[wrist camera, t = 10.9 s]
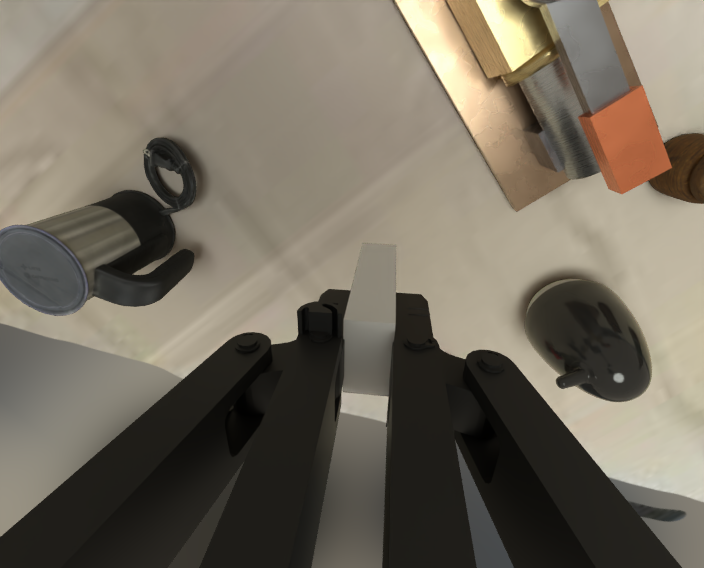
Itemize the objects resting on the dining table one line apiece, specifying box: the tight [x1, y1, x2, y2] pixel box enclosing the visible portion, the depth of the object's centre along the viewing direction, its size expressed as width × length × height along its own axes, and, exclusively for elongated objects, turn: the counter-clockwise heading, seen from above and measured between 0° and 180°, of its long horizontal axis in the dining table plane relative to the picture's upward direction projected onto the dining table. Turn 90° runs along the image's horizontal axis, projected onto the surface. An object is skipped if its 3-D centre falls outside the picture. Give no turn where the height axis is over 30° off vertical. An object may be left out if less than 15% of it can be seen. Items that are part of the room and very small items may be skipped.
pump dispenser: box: [525, 279, 652, 402], centre depth 38 cm, size 10×10×15 cm
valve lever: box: [522, 0, 672, 194], centre depth 23 cm, size 17×4×2 cm, turn 35°
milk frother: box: [0, 138, 196, 316], centre depth 38 cm, size 14×16×15 cm
